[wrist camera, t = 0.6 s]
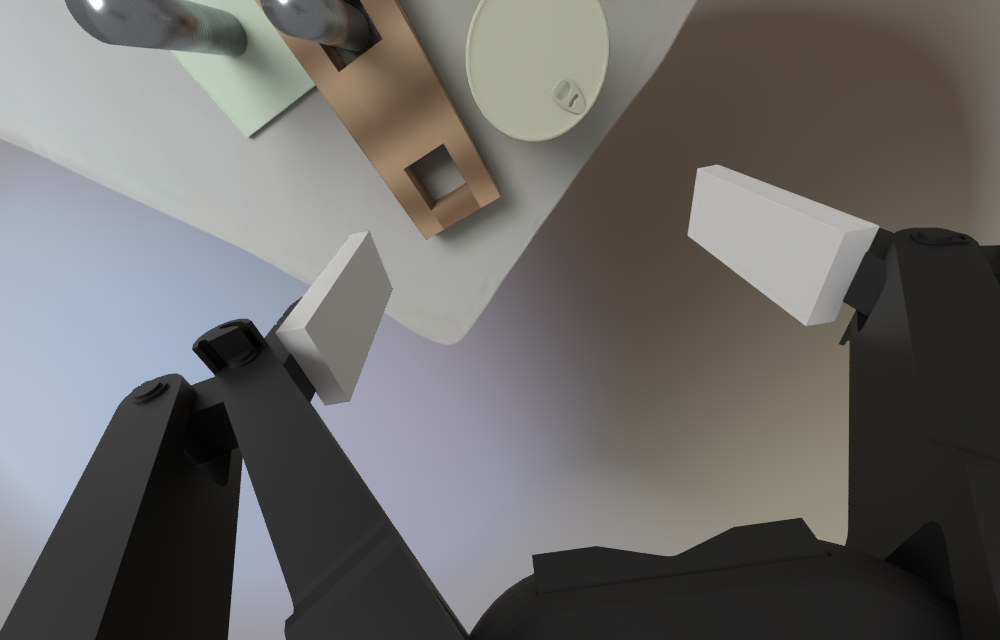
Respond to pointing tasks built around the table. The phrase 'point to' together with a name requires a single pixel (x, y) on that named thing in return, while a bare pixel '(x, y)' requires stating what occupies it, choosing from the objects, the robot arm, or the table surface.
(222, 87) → the mat
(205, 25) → the pin
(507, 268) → the table surface
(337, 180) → the table surface
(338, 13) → the pin
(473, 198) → the socket block
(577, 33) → the can
